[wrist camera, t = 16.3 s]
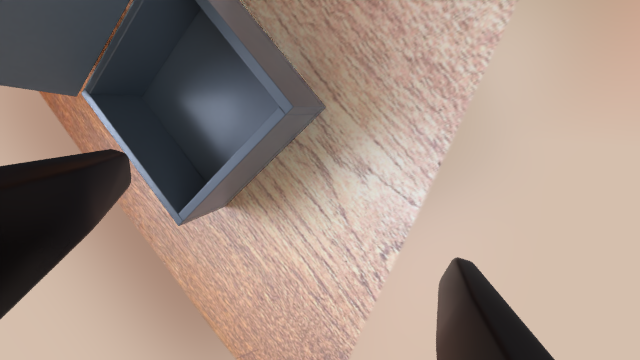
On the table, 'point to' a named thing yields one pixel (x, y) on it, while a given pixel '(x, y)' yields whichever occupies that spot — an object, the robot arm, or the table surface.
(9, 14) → the lid
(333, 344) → the table surface
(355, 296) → the table surface
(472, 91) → the table surface
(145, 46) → the blue gray box
